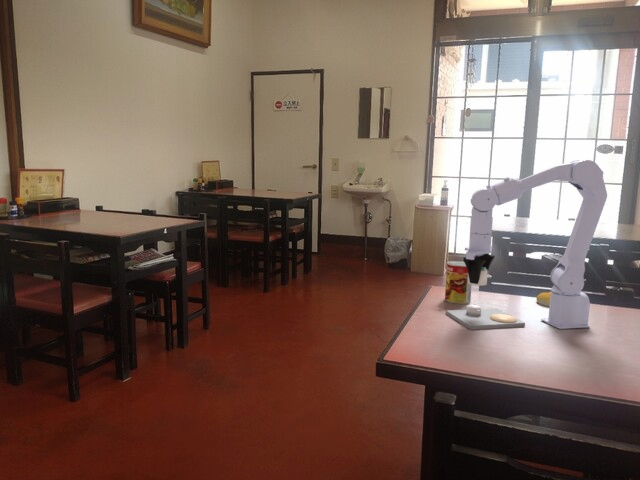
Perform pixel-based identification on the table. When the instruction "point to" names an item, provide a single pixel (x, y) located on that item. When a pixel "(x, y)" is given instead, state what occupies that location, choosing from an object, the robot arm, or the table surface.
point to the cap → (481, 277)
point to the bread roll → (544, 299)
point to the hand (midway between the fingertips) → (477, 281)
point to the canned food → (457, 283)
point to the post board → (484, 318)
